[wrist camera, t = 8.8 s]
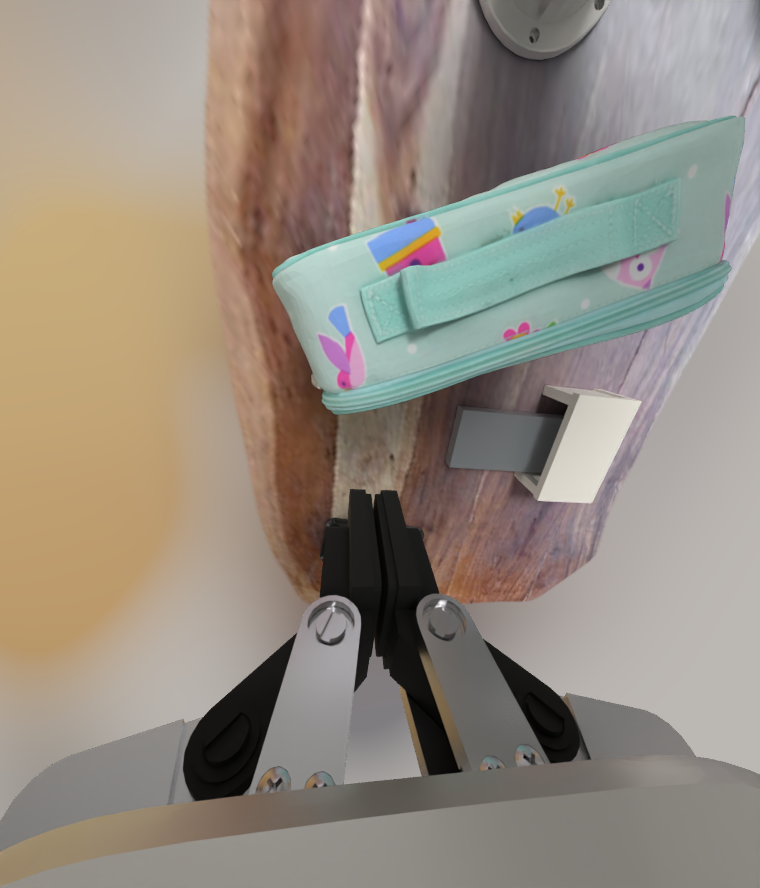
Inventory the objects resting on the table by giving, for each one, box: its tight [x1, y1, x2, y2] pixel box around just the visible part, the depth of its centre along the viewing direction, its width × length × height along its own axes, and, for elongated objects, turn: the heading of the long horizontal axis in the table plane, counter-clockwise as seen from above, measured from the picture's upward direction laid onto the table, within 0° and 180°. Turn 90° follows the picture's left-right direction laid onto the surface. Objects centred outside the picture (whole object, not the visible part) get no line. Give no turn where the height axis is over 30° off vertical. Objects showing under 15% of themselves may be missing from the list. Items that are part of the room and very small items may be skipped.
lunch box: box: [272, 116, 745, 415], centre depth 23 cm, size 27×10×21 cm, turn 108°
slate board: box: [445, 406, 565, 473], centre depth 40 cm, size 8×16×2 cm, turn 83°
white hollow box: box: [514, 385, 642, 503], centre depth 38 cm, size 14×8×6 cm, turn 173°
